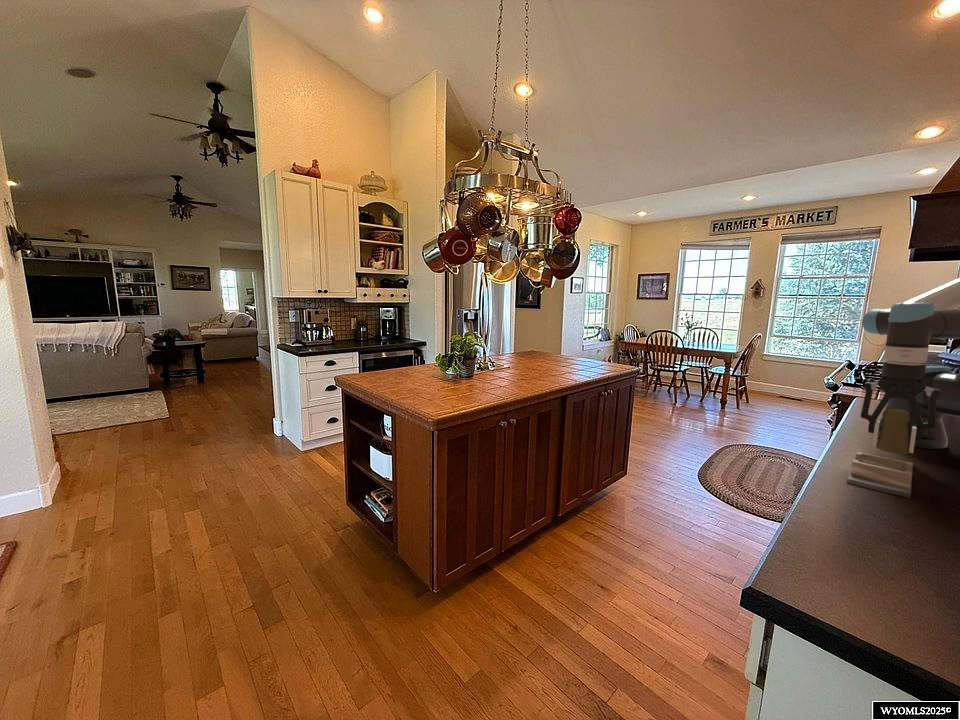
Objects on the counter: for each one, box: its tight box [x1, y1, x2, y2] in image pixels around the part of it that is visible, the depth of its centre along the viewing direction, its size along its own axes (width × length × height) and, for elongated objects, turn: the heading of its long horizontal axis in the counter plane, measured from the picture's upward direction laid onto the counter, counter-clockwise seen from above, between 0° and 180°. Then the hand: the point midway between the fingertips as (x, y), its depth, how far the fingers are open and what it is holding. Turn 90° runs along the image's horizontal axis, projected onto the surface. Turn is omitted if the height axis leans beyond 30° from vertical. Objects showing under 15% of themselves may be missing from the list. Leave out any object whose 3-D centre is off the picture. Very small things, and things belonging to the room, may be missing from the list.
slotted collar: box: [846, 451, 914, 499], centre depth 92 cm, size 18×10×4 cm, turn 131°
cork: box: [875, 409, 912, 455], centre depth 103 cm, size 6×6×11 cm
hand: (892, 448), depth 103 cm, fingers closed on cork, 6 cm apart
